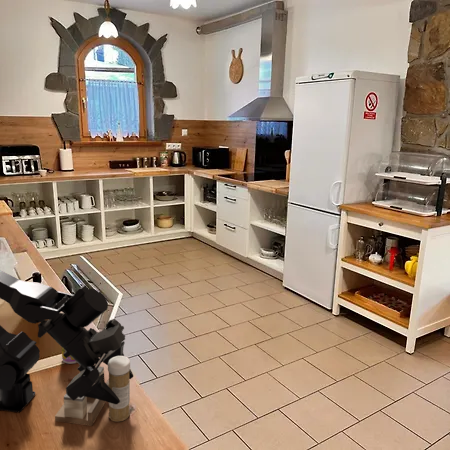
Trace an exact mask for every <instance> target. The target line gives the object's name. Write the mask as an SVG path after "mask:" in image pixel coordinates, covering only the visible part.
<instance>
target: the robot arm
mask: <svg viewBox="0 0 450 450" xmlns="http://www.w3.org/2000/svg"><path fill="white" fill-rule="evenodd" d="M0 299H1V300H2V301H5V303H7V304H8V305H9V306H10V307H11V309H12V311H13V312H14V314H16V315H18V316H19V317H20V318H22V319H23V320H24V321H26V322H28V323H30V324H33V325H34V324H35V325H36V324H37V326H38V330H37V331H38V332H37V337H38V338H39V339H41V338H42V337H44V335H46V334H48V335H49V336H50V337H51V338H52V339H53V340H54V341H55V342H56V343H57V344H58V345H59V346H60V347H61V349H62V348H63V349H64V350H65V351H66V352H65V353H64V354H63V356H64V357H65V358H67V357H69V356H71V357H72V358H73V359H74V360H75V361H76V362H77V363H76V364H78V365H79V366H78V367H77V368H76V370H77V371H79V373H77V375H75V376H74V377H73V378H72V379H71V381H70V382H69V383H68V385H67V386H66V387H65V394H67V395H68V396H69V397H70V398H71V399H72V400H73V401H74V400H75V399H76V398H78V397H79V398H82V397H83V396H84V397H90V398H95V399H99V400H102V401H106V402H105V403H108V404H109V403H113V404H118V403H119V402H120V400H119V398H118V397H117V395H116V394H115V393H114V392H113V391H112V390H111V388H110V387H109V386H108V385H107V384H106V381H105V372H104V373H103V374H101V375H99V371H98V367H99V366H100V367H101V364H102V363H104V364H105V365H106V366H108V361H109V360H110V359H111V358H113V357H116V356H125V354H124V347H125V346H124V345H125V340H126V335H125V334H124V333H123V331H124V330H125V327H124V325H122V324H121V323H120V322H119V321H118V320H116V318H112V319H109V320H108V321H107V322H106V324H105V328H103V329H102V330H100V331H97V330H95V329H94V328H89V329H87V327H88V326H89V325H91V324H92V323H93V322H94V321H95V320H97V318H99V317H100V316H102V314H104V313H105V312H106V311H107V310H108V307H109V304H108V300H107V298H106V297H105V295H104V294H103V293H102V292H101V291H98V290H97V289H95V288H88V286H87V285H86V284H83V285H82V286H80V288H79V289H77V290H76V292H75V293H74V294H73V293H68V292H63V291H59V290H57V289H55V288H54V287H52V286H50V285H47V284H44V283H41V282H34V281H24V280H22V279H19V278H18V277H17V278H16V277H15V276H13V275H11V274H8V273H7V272H5V271H4V270H1V269H0ZM37 343H38V342H37V341H35V340H33V339H31V338H30V337H29V336H28V334H27V333H26V332H24V331H20V332H19V333H18V334H14V333H11V332H8V331H7V330H6V329H5V328H4V327H3V326H2V325H1V324H0V411H5V412H13V413H20V412H22V411H23V410H24V408H25V407H26V406H27V405H28V404H29V402H30V401H31V400H32V399H33V398H34V397H35V396H36V391H34V389H33V388H34V387H33V381H32V380H31V374H30V373H28V372H29V371H30V370H31V369H33V368H34V366H35V365H36V364H37V363H38V361H39V360H40V356H41V355H40V348H39V347H38V345H36V344H37ZM133 377H134V374H133V372H132V369H131V368H130V371H129V380H131V379H133Z"/></svg>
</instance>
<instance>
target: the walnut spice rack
mask: <svg viewBox="0 0 450 450" xmlns="http://www.w3.org/2000/svg"><path fill="white" fill-rule="evenodd" d="M104 369H105V368H104V366H101V365H100V366H99V367H98V371H99V375H101V374H103V373H104V374H105V371H104ZM105 383H106V384H107V385H108V386H109V378H108V379H107V381H105ZM105 403H107V402H106V401H102V400H99V399H95V398H90V397H84V396H83V397H82V398H79V397H78V398H76V399H75V400H74V401H73V400H72V399H71V398H70V397H69V396H68V395H67V394H66V393H65V394H64V395H63V404H62V405H61V406H60V408H59V409H58V411H57V412H56V414H55V415H54V421H55V422H61V423H69V424H76V425H83V426H91V427H92V426H93V424H94V423H95V421H96V419H97V417H98V416H99V414H100V412H101V410H102V409H103V407H104V405H105Z"/></svg>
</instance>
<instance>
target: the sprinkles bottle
mask: <svg viewBox="0 0 450 450" xmlns="http://www.w3.org/2000/svg"><path fill="white" fill-rule="evenodd" d="M130 369H131V360H130V358H128V357H127V356H125V355H124V356H116V357H113V358H111V359H110V360H109V361H108V365H107V372H108V379H109V387H110V388H111V390H112V391H113V392H114V393H115V394H116V395H117V397H118V398H119V400H120V402H119V403H118V404H113V403H109V402H108V417H109V419H110V420H111V421H112V422H123V421H125V420H127V419H128V418H129V416H130V414H131V412H130V401H131V399H130V398H131V397H130V394H131V392H130V391H131V389H130V380H131V379H129V371H130Z"/></svg>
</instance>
